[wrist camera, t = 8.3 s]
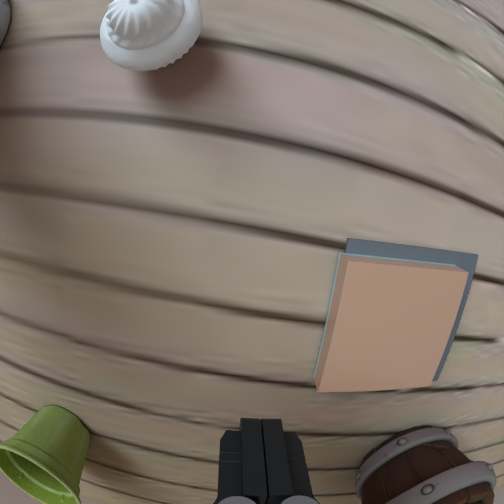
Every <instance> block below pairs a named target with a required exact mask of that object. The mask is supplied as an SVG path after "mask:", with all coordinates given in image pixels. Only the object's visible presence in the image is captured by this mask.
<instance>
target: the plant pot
mask: <svg viewBox="0 0 504 504" xmlns="http://www.w3.org/2000/svg"><path fill="white" fill-rule="evenodd" d="M89 443H90V434H89V431H88V430H87V429H86V428H85V427H84V426H83V425H82V424H81V422H80V420H79V419H78V418H77V417H76V416H75V415H73V414H72V413H71V412H69V411H67V410H65V409H63V408H61V407H58V406H55V405H51V406H47V407H43V408H41V409H40V410H39V411H38V412H37V413H36V414H35V415H34V416H33V417H32V418H31V420H30V421H29V422H28V423H26V424H25V425H24V426H23V427H22V428H21V429H20V430H19V431H18V432H17V433H16V434H15V435H14V436H13V437H12V438H11V439H8V440H6V441H5V442H4V443H3V444H0V469H1V471H2V472H3V473H4V474H5V475H6V476H7V477H8V478H9V479H10V480H11V481H12V482H13V483H14V484H15V485H16V486H18V487H19V488H20V489H21V490H23V491H24V492H25V493H27V494H28V495H30V496H31V497H33V498H35V499H37V500H39V501H40V502H42V503H44V504H81V501H80V498H79V493H80V488H79V483H80V478H81V474H82V469H83V465H84V461H85V457H86V454H87V450H88V447H89Z"/></svg>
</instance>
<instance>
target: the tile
mask: <svg viewBox="0 0 504 504" xmlns="http://www.w3.org/2000/svg"><path fill="white" fill-rule="evenodd" d="M468 273H469V272H467V271H465V270H463V269H461V268H460V267H458V266H456V265H453V264H443V263H434V262H425V261H415V260H406V259H397V258H387V257H377V256H368V255H358V254H348V253H339V256H338V262H337V267H336V273H335V278H334V284H333V289H332V294H331V299H330V304H329V309H328V314H327V319H326V324H325V328H324V333H323V337H322V342H321V346H320V350H319V355H318V359H317V363H316V367H315V371H314V375H313V378H314V381H315V384H316V387H317V391H318V392H358V391H379V390H394V389H406V388H417V387H426V386H430V384H431V382H432V380H433V377H434V375H435V373H436V370H437V368H438V365H439V363H440V360H441V358H442V355H443V353H444V350H445V347H446V344H447V342H448V339H449V336H450V333H451V330H452V327H453V325H454V321H455V318H456V315H457V312H458V309H459V306H460V302H461V299H462V296H463V292H464V288H465V285H466V281H467V277H468Z"/></svg>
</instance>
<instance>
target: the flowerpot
mask: <svg viewBox="0 0 504 504" xmlns="http://www.w3.org/2000/svg"><path fill="white" fill-rule="evenodd" d="M492 468H493V464H488V463H486V462H483V461H476V462H471V461H470V460H469V459H468V458H467V457H466V456H465V455H464V454H463V453H462V452H461V451H459V450H458V442H457V440H456V438H455V437H454V436H453V435H452V434H451V431H450V430H444V429H442V428H436V427H433V426H421V427H420V428H419V427H413V428H411V429H408V430H405V431H402V432H400V433H398V434H396V435H394V436H393V437H391V438H389V439H388V440H386V441H384V442H383V443H382V444H380V445H379V447H378V448H375V449H373V450H372V451H371V452H369V453H368V454H367V456H366V457H365V458H364V459H363V461H362V463H361V465H360V469H359V471H358V473H357V474H356V494H357V496H358V498H359V499H361V500H362V504H493V500H494V492H493V489H494V487H495V485H496V475H495V473H494V470H493V469H492Z"/></svg>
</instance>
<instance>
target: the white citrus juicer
mask: <svg viewBox="0 0 504 504" xmlns="http://www.w3.org/2000/svg"><path fill="white" fill-rule="evenodd" d="M108 8H109V9H108V11H107V13H106V14H105V16H104V18H103V21H102V24H101V28H100V41H101V45H102V48H103V50H104V52H105V54H106V56H107V57H108V58H109V59H110V60H111V61H112V62H113V63H114V64H116V65H118V66H120V67H122V68H125V69H128V70H133V71H148V70H153V69H155V70H157V69H158V68H160V67H166V66H167V65H168V64H169V63H172V64H173V63H174V62H175V60H176V59H181V58H182V55H183V54H185V53H188V49H189V48H191V47H192V46H194V43H195V41H196V40H197V38H198V36H199V34H200V32H201V29H202V23H203V14H202V8H201V5H200V2H199V0H114V2H112V3H110V4H109V5H108Z"/></svg>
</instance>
